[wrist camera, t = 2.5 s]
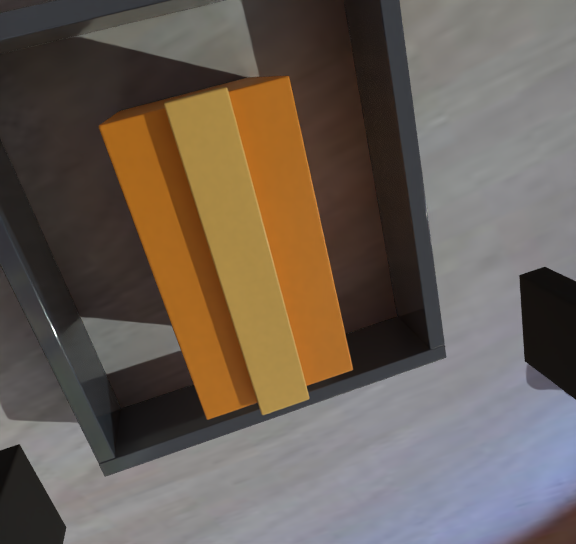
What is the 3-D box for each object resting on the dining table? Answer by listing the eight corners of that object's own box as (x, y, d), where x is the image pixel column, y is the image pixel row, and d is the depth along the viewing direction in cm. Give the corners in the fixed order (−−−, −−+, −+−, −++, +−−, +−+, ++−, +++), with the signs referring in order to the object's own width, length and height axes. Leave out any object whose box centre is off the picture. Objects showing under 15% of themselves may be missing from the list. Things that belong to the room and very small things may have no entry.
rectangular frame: (-64, 45, 25) (-113, 38, 21) (352, -52, 28) (389, -77, 24) (112, 425, 35) (104, 477, 30) (411, 324, 37) (446, 358, 33)
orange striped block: (116, 107, 28) (93, 121, 18) (248, 73, 29) (293, 69, 19) (195, 331, 34) (209, 434, 24) (303, 296, 35) (360, 382, 25)
